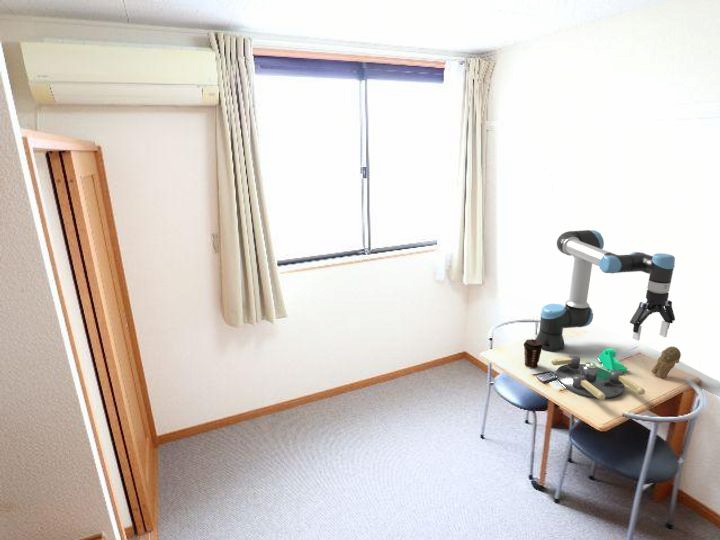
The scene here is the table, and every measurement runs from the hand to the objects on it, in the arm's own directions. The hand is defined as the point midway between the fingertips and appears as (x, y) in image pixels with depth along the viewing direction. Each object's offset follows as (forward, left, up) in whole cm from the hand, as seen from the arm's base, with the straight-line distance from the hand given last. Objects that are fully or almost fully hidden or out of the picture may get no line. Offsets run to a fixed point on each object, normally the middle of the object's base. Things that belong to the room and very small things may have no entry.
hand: (649, 337), depth 178 cm
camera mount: (-22, +5, -27) cm, 36 cm away
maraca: (-23, -21, -25) cm, 40 cm away
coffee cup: (-32, -33, -27) cm, 54 cm away
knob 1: (0, -26, -25) cm, 36 cm away
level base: (-12, -16, -27) cm, 34 cm away
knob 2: (0, -7, -25) cm, 25 cm away
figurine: (-9, +22, -27) cm, 36 cm away
